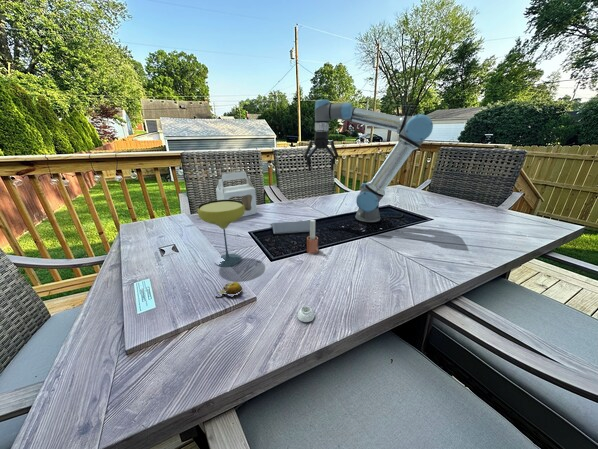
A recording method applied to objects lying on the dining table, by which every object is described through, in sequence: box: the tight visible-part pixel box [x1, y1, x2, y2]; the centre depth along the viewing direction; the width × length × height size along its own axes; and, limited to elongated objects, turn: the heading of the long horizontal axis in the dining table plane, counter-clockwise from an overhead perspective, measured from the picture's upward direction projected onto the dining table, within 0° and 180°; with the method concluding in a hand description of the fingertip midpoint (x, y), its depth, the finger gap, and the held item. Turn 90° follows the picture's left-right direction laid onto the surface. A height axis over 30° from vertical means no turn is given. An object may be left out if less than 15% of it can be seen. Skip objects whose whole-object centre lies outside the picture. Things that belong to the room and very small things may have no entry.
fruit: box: [217, 281, 243, 299], centre depth 85 cm, size 8×8×4 cm
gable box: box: [215, 171, 258, 218], centre depth 162 cm, size 22×13×28 cm, turn 127°
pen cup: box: [306, 235, 319, 254], centre depth 113 cm, size 5×5×7 cm
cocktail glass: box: [197, 199, 245, 268], centre depth 103 cm, size 18×18×25 cm
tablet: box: [271, 220, 310, 236], centre depth 142 cm, size 23×17×1 cm
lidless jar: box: [297, 305, 315, 323], centre depth 74 cm, size 5×3×5 cm
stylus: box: [309, 219, 316, 240], centre depth 112 cm, size 2×2×15 cm
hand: (320, 170), depth 143 cm, fingers open, 13 cm apart
